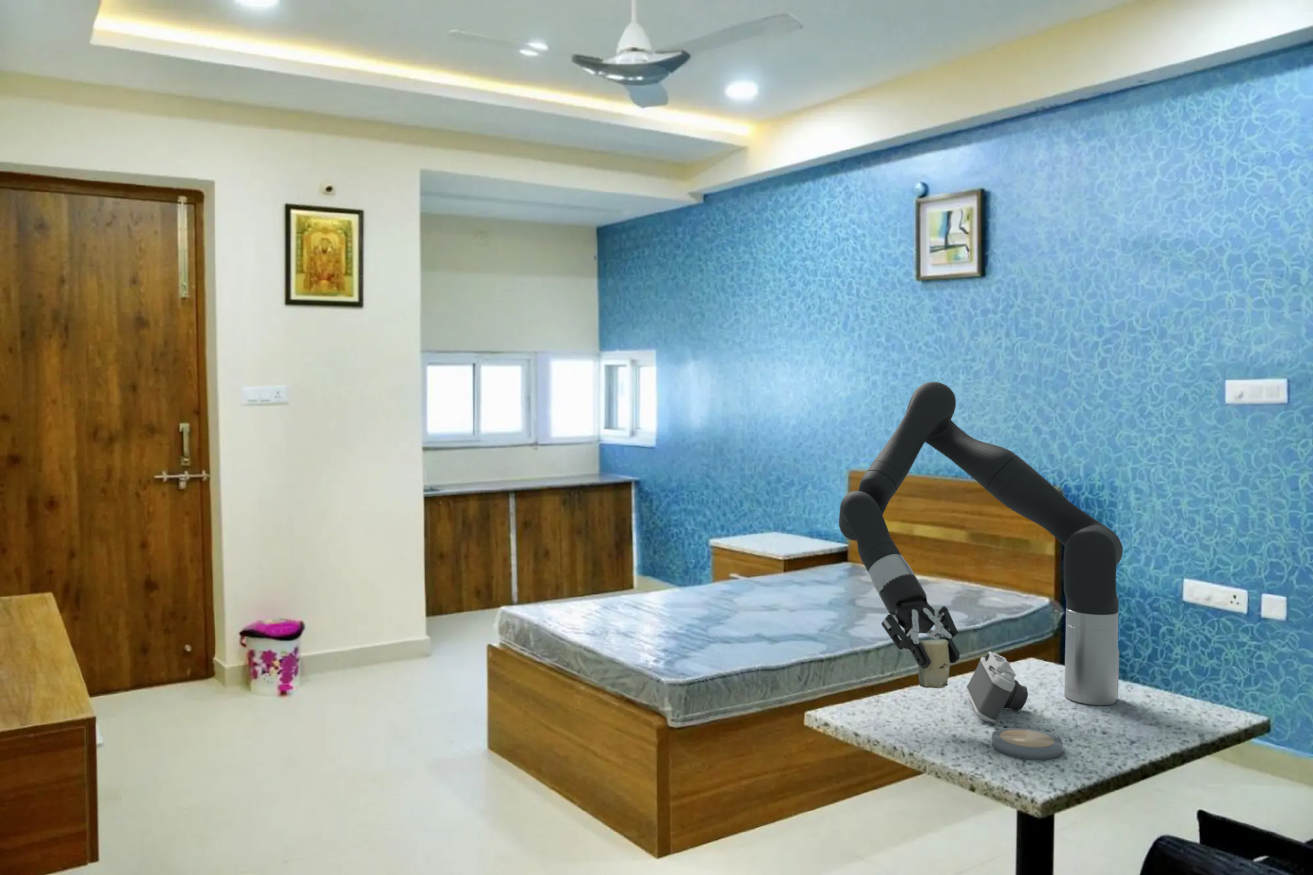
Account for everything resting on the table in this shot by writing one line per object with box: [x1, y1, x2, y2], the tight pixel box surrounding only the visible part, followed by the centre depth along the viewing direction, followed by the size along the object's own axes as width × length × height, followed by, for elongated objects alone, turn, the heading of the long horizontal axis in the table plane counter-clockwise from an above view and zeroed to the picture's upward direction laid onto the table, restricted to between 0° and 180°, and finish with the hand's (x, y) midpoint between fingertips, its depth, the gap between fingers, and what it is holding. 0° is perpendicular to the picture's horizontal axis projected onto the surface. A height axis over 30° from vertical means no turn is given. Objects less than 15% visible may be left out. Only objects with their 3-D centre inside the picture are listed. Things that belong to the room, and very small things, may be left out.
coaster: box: [991, 727, 1064, 761], centre depth 164 cm, size 11×11×2 cm
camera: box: [965, 651, 1029, 724], centre depth 183 cm, size 9×16×10 cm, turn 172°
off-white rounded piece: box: [917, 639, 951, 689], centre depth 176 cm, size 6×5×8 cm
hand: (941, 663), depth 174 cm, fingers closed on off-white rounded piece, 6 cm apart
